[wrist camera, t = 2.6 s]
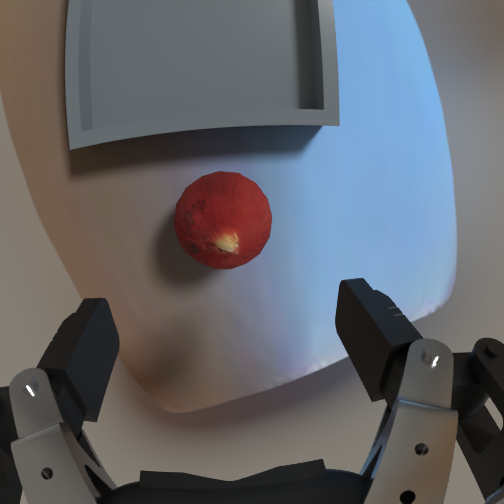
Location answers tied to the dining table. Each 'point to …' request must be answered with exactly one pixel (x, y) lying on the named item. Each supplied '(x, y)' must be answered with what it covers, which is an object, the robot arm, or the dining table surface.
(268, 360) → the dining table surface
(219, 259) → the onion
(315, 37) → the tray
